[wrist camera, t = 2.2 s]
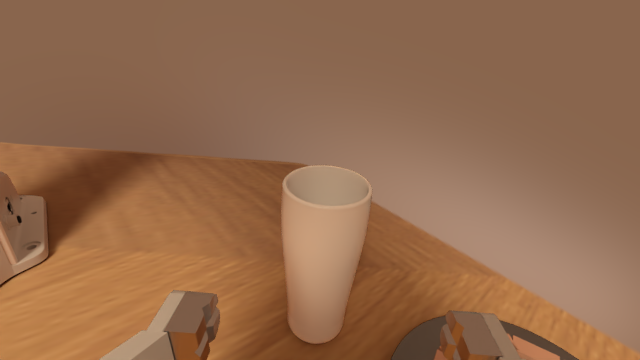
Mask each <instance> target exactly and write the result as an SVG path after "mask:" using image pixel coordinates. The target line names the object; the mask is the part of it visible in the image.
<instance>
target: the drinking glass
mask: <svg viewBox="0 0 640 360" xmlns="http://www.w3.org/2000/svg"><path fill="white" fill-rule="evenodd" d="M371 199H372V187H371V184H370V183H369V181H368V180H367V179H365V178H364V177H363V176H362V175H360V174H358V173H356V172H354V171H351V170H349V169H345V168H341V167H337V166H328V165H314V166H307V167H302V168H299V169H296V170H294V171H292V172H290V173H289V174H288V175H287V176H286V177H285V178H284V180H283V184H282V199H281V236H282V248H283V258H284V269H285V279H286V291H287V303H288V314H287V317H288V324H289V327H290V329H291V330H292V332H293V333H294V334H295V335H296V336H297V337H298V338H299V339H301V340H302V341H305V342H307V343H312V344H321V343H325V342H328V341H330V340H332V339H333V338H335V337H336V336H337V335H338V334H339V332H340V331H341V329H342V326H343V323H344V317H345V311H346V307H347V303H348V300H349V296H350V292H351V289H352V285H353V281H354V278H355V274H356V271H357V267H358V264H359V260H360V257H361V253H362V250H363V246H364V242H365V238H366V233H367V228H368V222H369V216H370V208H371Z"/></svg>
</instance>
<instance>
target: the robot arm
mask: <svg viewBox="0 0 640 360" xmlns="http://www.w3.org/2000/svg"><path fill="white" fill-rule="evenodd" d="M48 254H49V252H48V230H47V209H46V202H45V200H44V198H43V197H41V196H34V195H18V194H17V191H16V189H15V187H14V185H13V183H12V181H11V180H10V178H9V176H8V175H7V174H5V173H3V172H0V284H2V283H3V282H5V281H6V280H7V279H9V278H10V277H12V276H14V275H16V274H18V273H20V272H22V271H24V270H26V269H28V268H30V267H32V266H34V265H36V264H38V263H40V262H42V261H43V260H44V259H46V258H47V256H48ZM217 303H218V297H217V294H211V293H201V292H191V291H179V290H173V291H172V292H171V293H170V294H169V295H168V297H167V298H166V300H165V301H164V303H163V305H162V306H161V308H160V309H159V311H158V313H157V314H156V316H155V317H154V319H153V321H152V322H151V324H150V325H149V327H148V329H147V330H142V331H140V332H139V333H137V334H136V335H134V336H133V337H131V338H130V339H128V340H127V341H125V342H124V343H123V344H121V345H120V346H118V347H117V348H115V349H114V350H112V351H111V352H109V353H108V354H106V355H105V356H103V357H102V358H100V359H99V360H207V358H208V355H209V353H210V347H209V343H210V342H211V341H213V340H214V339H215V337H216V334H217V331H218V327H219V322H220V311H219V309H218V308H217V307H216V305H217ZM445 319H446V322H447V324H445V325H444V326H443V327H442V329H441V332H440V344H441V349H442V352H443V355H444V357H445V358H446V359H447V360H526V359H521V358H520V356H519V354H518V353H517V351H516V349H515V347H514V346H513V344H512V342H511V340H510V339H509V337H508V335H507V333H506V332H505V330H504V328H503V326H502V325H501V323H500V321H499V319H498V318H497V316H496V315H495V314H491V313H477V312H463V311H449V312H448V313H447V314H446V317H445Z"/></svg>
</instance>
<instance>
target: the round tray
mask: <svg viewBox="0 0 640 360" xmlns="http://www.w3.org/2000/svg"><path fill="white" fill-rule="evenodd" d="M445 317H446V316H443V317H438V318H434V319H432V320H429V321H427V322H424V323H423V324H421V325H419V326H418V327H416V328H414V329H413V330H412V331H411V332H410V333H409V334H407V335H406V336H405V338H404V339H403V340H402V341H401V343H400V344H399V345H398V347H397V349H396V350H395V352H394V354H393V356H392V358H391V360H447V359H446V358H445V357H444V355H443V352H442V349H441V344H440V332H441V329H442V327H443V326H444V325H445V324H447V322H446V319H445ZM499 321H500V320H499ZM500 323H501V325H502V326H503V328H504V330H505V332H506V333H507V335H508V337H509V339H510V340H511V342H512V344H513V346H514V347H515V349H516V351H517V353H518V354H519V356H520V358H521V359H526V360H579V359H577V358H575V357H574V356H572V355H571V354H569V353H568V352H566V351H565V350H563V349H562V348H560V347H558V346H557V345H555V344H553V343H551V342H550V341H548V340H546V339H544V338H542V337H540V336H538V335H536V334H534V333H532V332H530V331H528V330H525V329H523V328H520V327H518V326H515V325H513V324H510V323H507V322H503V321H500Z"/></svg>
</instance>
